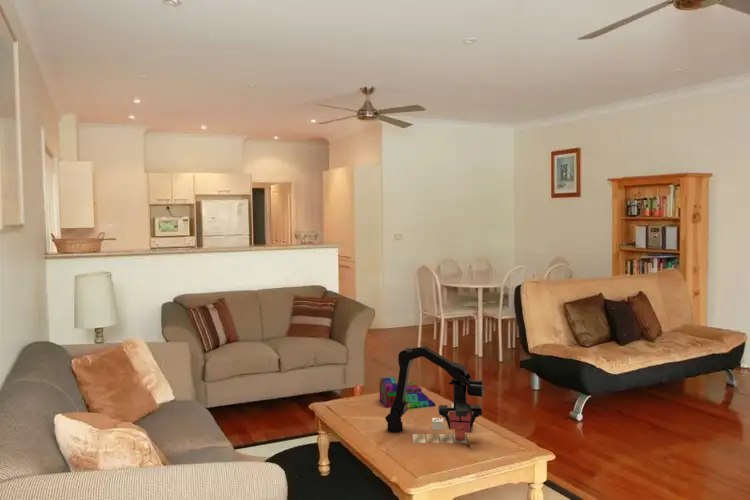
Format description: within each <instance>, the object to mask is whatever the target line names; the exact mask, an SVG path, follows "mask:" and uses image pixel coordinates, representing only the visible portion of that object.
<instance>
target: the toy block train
mask: <svg viewBox="0 0 750 500" xmlns="http://www.w3.org/2000/svg"><path fill="white" fill-rule="evenodd" d="M397 384H398V381H397V379H396V378H395V377H394V376H388V377H380V380H379V388H378V389H379V402H380V403H381V404H382V406H383V407H385V409H389V408H390V409H391V407H392V404H393V402H394V400H395V397H396V391H397ZM405 399H406V402H409V404H408V410H414V409H423V408H424V409H425V408H431V407H432V408H433V407H436V403H435V402H434V401H433V400H432V399H430V397H428V396H427V395H426V394H425V393H424V392H423V391H422V387H420V386H419V385H418V384H416V383H415V382H407V388H406V395H405Z"/></svg>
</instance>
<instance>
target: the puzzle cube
mask: <svg viewBox="0 0 750 500" xmlns="http://www.w3.org/2000/svg"><path fill="white" fill-rule="evenodd" d="M449 408H454V403H451V404H450V406H449ZM448 414H449V421H450V429H449V430H455V428H456V425H457V423H459V422H461V423H463V424H464V428H465V433H472V429H473V428H472V429H470V419H471V413H467V416H466V417H464V416H459V417H458V416H456V412H448Z"/></svg>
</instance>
